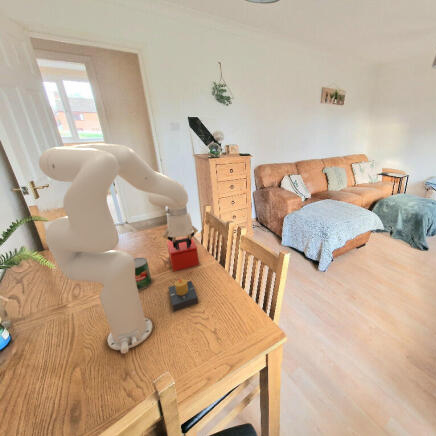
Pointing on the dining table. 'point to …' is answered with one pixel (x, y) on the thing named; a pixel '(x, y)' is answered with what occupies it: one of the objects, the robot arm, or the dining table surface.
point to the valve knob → (181, 287)
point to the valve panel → (183, 297)
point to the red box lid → (181, 246)
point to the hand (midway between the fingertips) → (182, 246)
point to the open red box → (184, 259)
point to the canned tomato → (142, 273)
